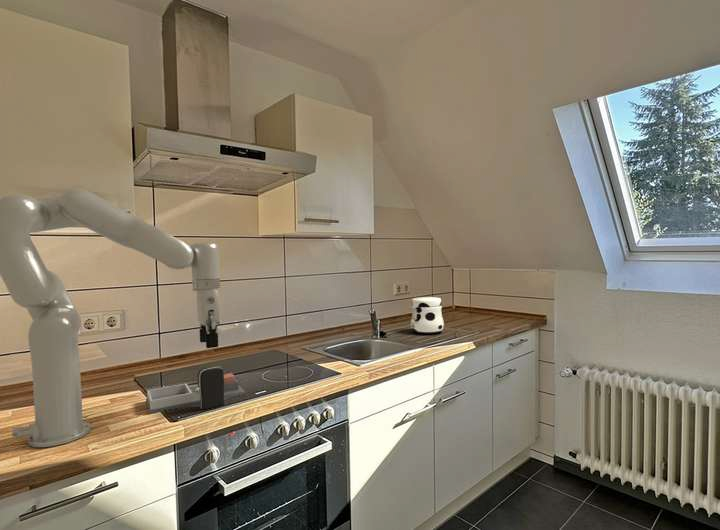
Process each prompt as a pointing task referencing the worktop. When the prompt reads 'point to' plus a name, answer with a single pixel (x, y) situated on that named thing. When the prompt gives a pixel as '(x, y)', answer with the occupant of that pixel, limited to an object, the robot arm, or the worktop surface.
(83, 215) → the robot arm
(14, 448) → the worktop surface
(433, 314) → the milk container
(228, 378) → the red cube
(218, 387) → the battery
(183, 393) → the charging dock
